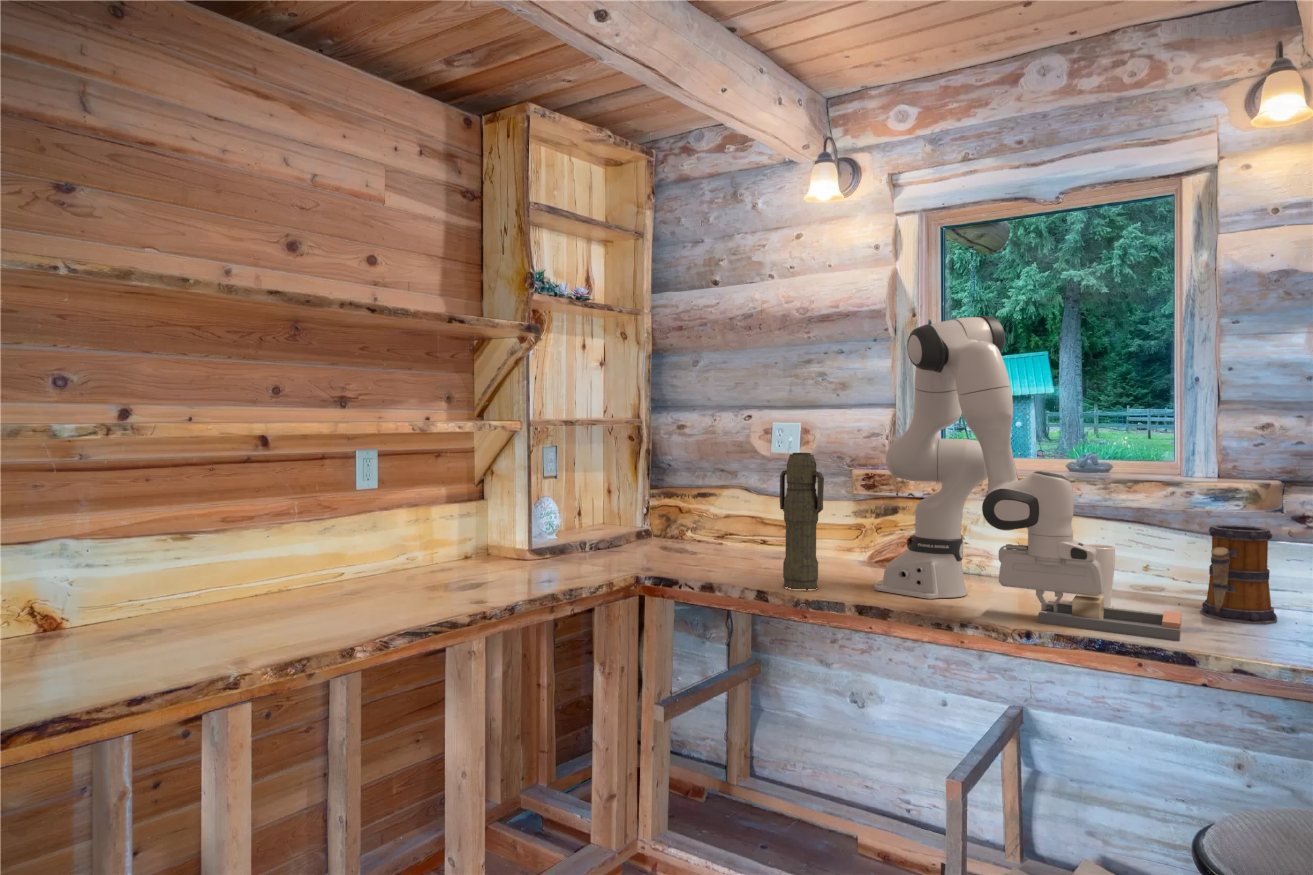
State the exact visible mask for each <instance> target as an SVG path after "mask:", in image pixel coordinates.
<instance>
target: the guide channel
mask: <svg viewBox="0 0 1313 875" xmlns="http://www.w3.org/2000/svg"><path fill="white" fill-rule="evenodd" d="M1047 602H1049V603H1054V602H1055V600H1049V601H1047ZM1038 624H1044V625H1052V626H1058V627H1059V626H1060V627H1067V628H1074V629H1075V628H1076V629H1083V630H1091V631H1100V632H1106V633H1112V634H1113V633H1114V634H1122V635H1130V636H1137V637H1146V638H1153V639H1161V640H1168V641H1177V642H1180V641H1181V633H1182V632H1181V630H1182V612H1179V611H1178V612H1177V611H1170V610H1164V611H1163V613H1160V612H1159V613H1158V612H1150V611H1149V612H1148V611H1142V610H1141V611H1140V610H1131V609H1124V608H1123V609H1122V608H1114V607H1107V608H1106V607H1104V616H1103V619H1095V618H1087V617H1079V616H1072V602H1062V601H1059V603H1058V604H1057V612H1056V613H1053V612H1045V611H1039V612H1038Z"/></svg>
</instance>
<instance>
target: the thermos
mask: <svg viewBox="0 0 1313 875" xmlns="http://www.w3.org/2000/svg"><path fill="white" fill-rule="evenodd" d="M787 459H788V460H787V461H786V462H787V463H786V469H785V470H782V471H781V473H780V475H779V508H780V510H782V512H783V521H784V523H785V557H784V560H783V562H782V564H783V565H782V566H783V568H782V570H783V572H782V577H783V587H784V586H785V587H788V588H791V589H806V590H808V589H816V588H817V589H818V579H819V562H818V559H817V524H818V521H819V514H820V513H821V512H822V511H823V510H824V489H825V488H824V485H825V484H824V483H825V482H824V481H825V478H824V475H823V474H822V472H820V471H817V463H816V459H815V455H814V454H812V453H811V452H792V453H791V454H789V456H788V458H787ZM785 476H786V477H785ZM786 483H787V484H786ZM816 484H817V488H816ZM786 485H787V487H786ZM817 589H816V590H817Z"/></svg>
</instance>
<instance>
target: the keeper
mask: <svg viewBox="0 0 1313 875" xmlns="http://www.w3.org/2000/svg"><path fill="white" fill-rule="evenodd" d="M1071 601H1072V602H1071V604H1072V616H1079V617H1087V618H1095V619H1103V616H1104V595H1099V596H1090V595H1080V594H1075V596H1074V597H1073V598H1072V600H1071Z"/></svg>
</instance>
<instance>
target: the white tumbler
mask: <svg viewBox="0 0 1313 875" xmlns="http://www.w3.org/2000/svg"><path fill="white" fill-rule="evenodd" d="M1085 544H1086V545H1088V546H1091V547H1094V548H1095V549H1096V551H1097V555H1096V558H1095V560H1097V561H1098V563H1099V564H1100V567H1101V571H1102V578H1103V592H1102V593H1101V594H1100V595H1104V607H1106V608H1112V607H1111V606H1112V595H1113V585H1114V579H1115V578H1114V577H1115V576H1114V575H1115V568H1116V566H1115V565H1116V550H1115V549H1116V547H1115V546H1113V545H1108V544H1099V543H1098V544H1097V543H1085Z"/></svg>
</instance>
